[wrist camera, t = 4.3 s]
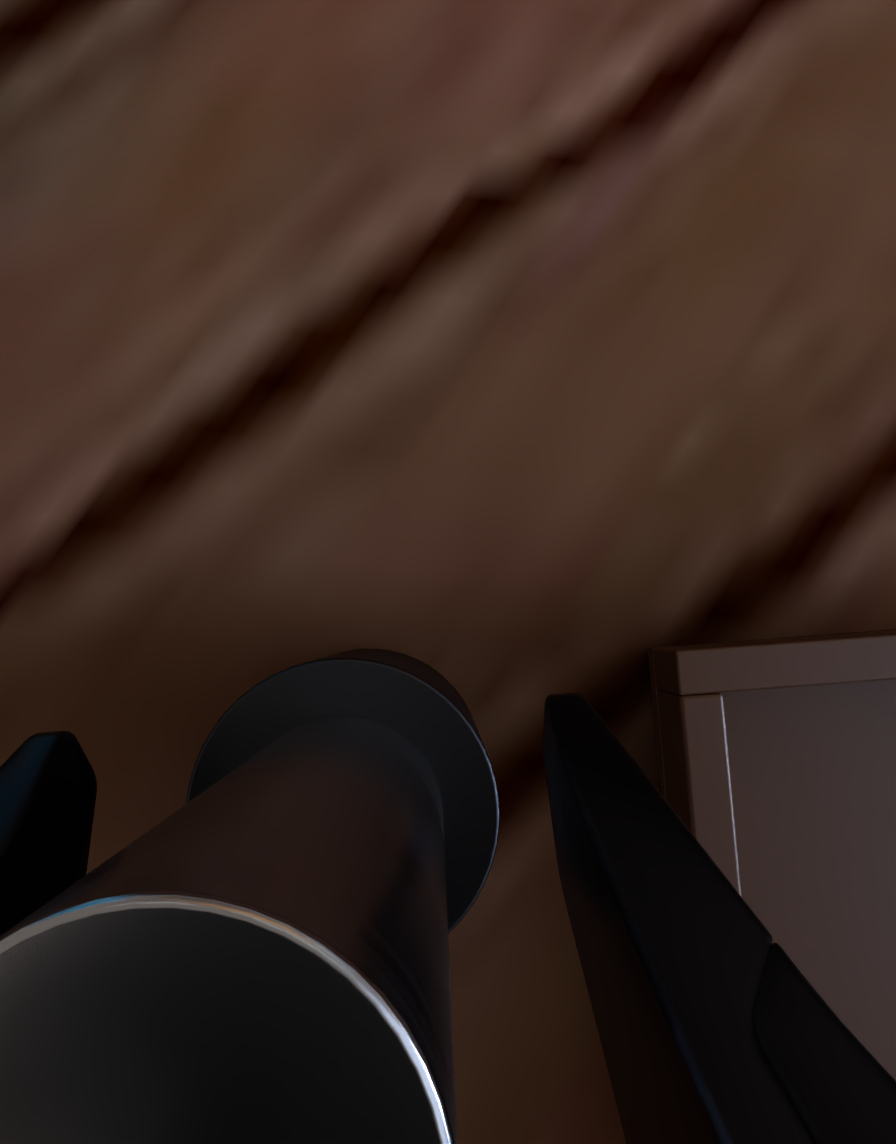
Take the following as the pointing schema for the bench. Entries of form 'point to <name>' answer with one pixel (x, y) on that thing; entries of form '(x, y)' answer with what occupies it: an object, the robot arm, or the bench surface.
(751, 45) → the bench surface
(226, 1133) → the dark cylinder
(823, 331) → the bench surface
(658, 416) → the bench surface
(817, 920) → the tray
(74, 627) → the bench surface
